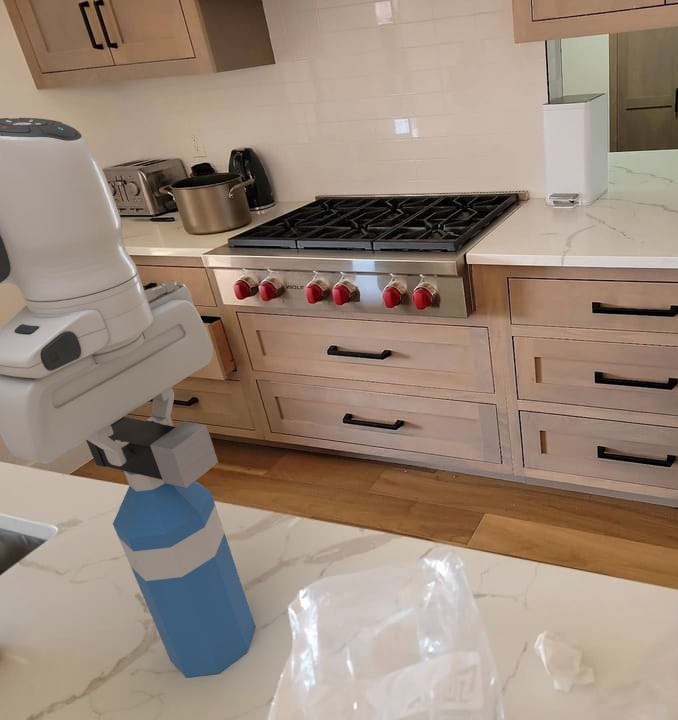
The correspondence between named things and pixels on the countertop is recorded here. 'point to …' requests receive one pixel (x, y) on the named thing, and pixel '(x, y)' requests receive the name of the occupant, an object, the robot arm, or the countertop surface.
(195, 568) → the water bottle
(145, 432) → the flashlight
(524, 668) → the countertop surface
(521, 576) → the countertop surface
